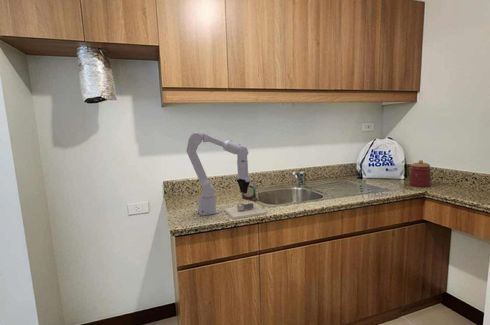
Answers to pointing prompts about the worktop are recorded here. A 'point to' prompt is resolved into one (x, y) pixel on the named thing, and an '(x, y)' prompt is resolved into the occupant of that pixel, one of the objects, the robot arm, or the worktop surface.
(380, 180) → the worktop surface
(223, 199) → the worktop surface
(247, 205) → the dial lever
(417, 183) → the canister
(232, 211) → the dial panel
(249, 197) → the food container
